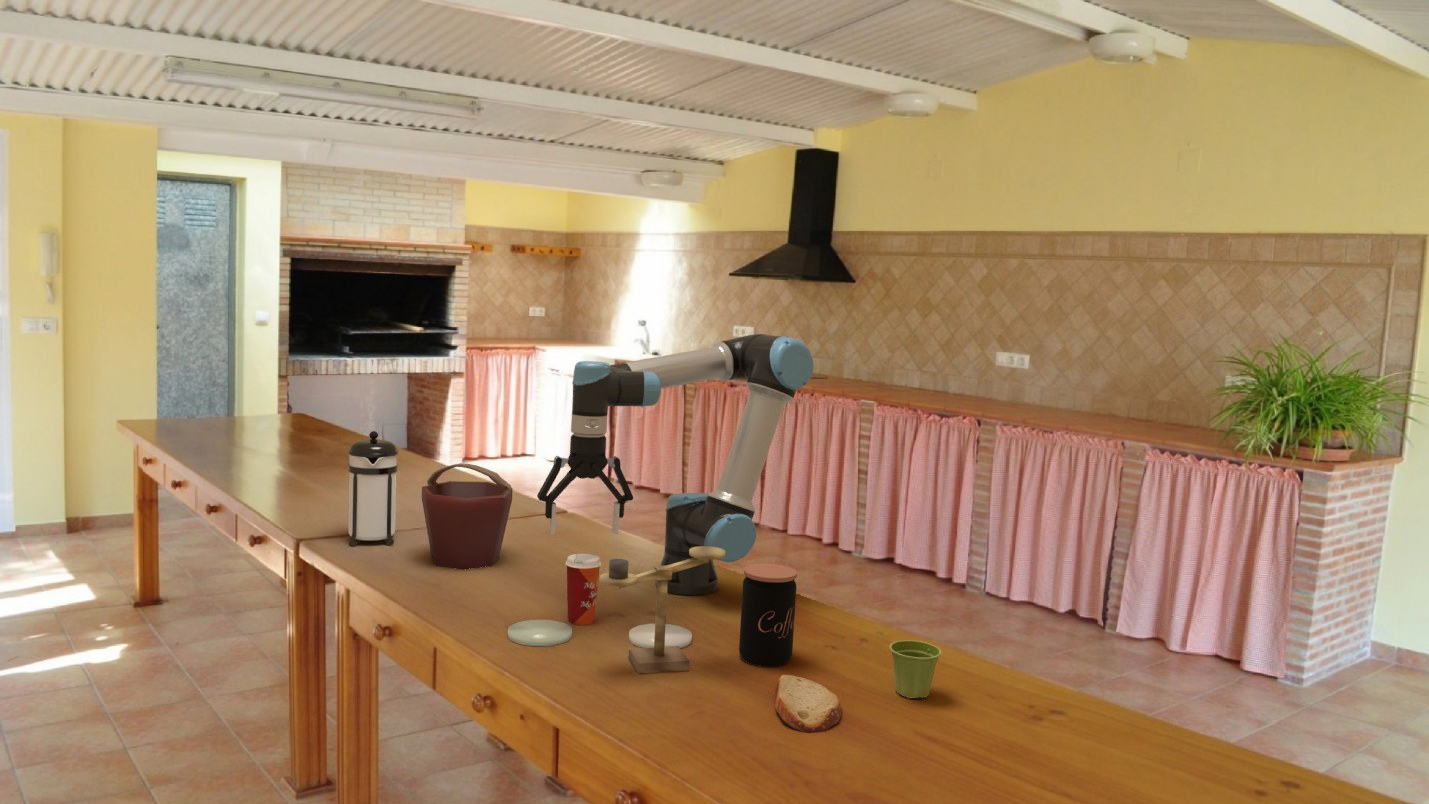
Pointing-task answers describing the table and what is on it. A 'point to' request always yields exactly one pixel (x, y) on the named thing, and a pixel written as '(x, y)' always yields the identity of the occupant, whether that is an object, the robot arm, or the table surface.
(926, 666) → the plant pot
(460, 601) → the table surface
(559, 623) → the sage dish
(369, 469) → the coffee press
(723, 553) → the balance
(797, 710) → the bread slice
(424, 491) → the bucket
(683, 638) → the white dish
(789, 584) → the coffee jar
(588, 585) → the paper cup
